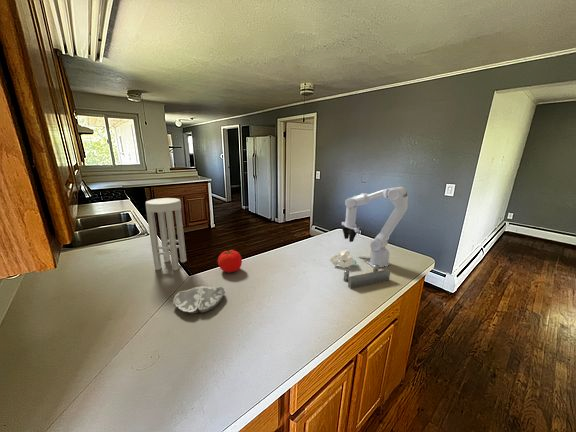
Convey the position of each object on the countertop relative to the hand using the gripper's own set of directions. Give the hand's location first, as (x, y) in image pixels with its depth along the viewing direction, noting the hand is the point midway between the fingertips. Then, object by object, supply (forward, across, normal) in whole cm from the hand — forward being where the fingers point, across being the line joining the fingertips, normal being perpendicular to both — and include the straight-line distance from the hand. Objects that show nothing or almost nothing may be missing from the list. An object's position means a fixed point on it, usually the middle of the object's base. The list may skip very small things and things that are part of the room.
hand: (348, 240), depth 141 cm
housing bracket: (+9, -28, +9) cm, 31 cm away
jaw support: (+10, -11, +9) cm, 17 cm away
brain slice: (+10, -21, +84) cm, 87 cm away
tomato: (+10, +3, +69) cm, 70 cm away
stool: (+10, +19, +98) cm, 100 cm away
